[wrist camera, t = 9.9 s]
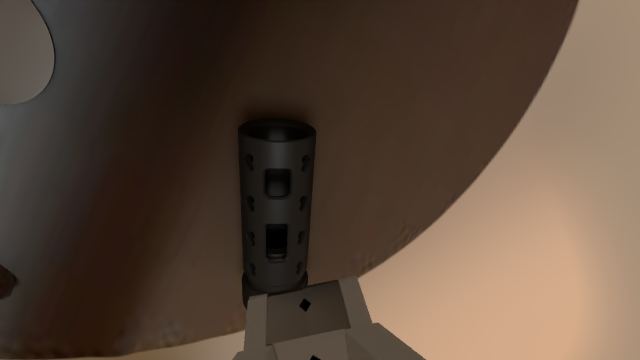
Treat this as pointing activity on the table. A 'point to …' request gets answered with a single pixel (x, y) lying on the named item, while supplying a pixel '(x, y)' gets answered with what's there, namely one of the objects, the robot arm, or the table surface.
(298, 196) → the muzzle brake
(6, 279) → the bolt
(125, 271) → the table surface
